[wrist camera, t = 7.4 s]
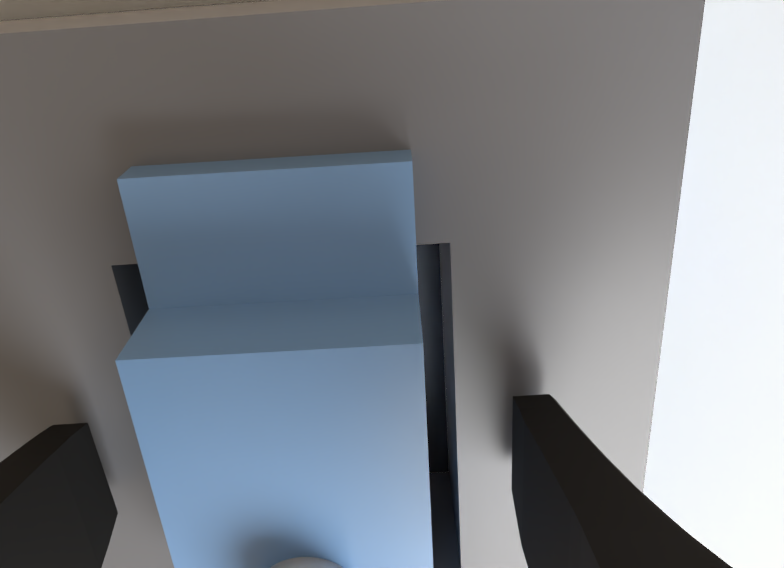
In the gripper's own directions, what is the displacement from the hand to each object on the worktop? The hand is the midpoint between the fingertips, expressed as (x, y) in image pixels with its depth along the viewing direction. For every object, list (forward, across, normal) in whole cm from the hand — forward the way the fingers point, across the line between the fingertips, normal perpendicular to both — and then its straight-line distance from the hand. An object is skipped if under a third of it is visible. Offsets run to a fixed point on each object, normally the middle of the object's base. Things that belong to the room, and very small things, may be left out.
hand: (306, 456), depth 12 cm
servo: (+3, 0, 0) cm, 3 cm away
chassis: (+3, 0, 0) cm, 3 cm away
